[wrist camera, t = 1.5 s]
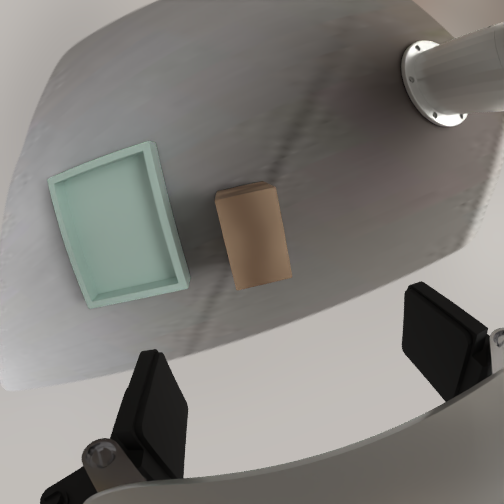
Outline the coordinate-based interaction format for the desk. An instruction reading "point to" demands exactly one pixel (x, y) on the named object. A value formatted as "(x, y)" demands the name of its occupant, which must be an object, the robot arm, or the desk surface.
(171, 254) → the tray
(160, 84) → the desk surface
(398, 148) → the desk surface
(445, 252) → the desk surface
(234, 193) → the walnut block
